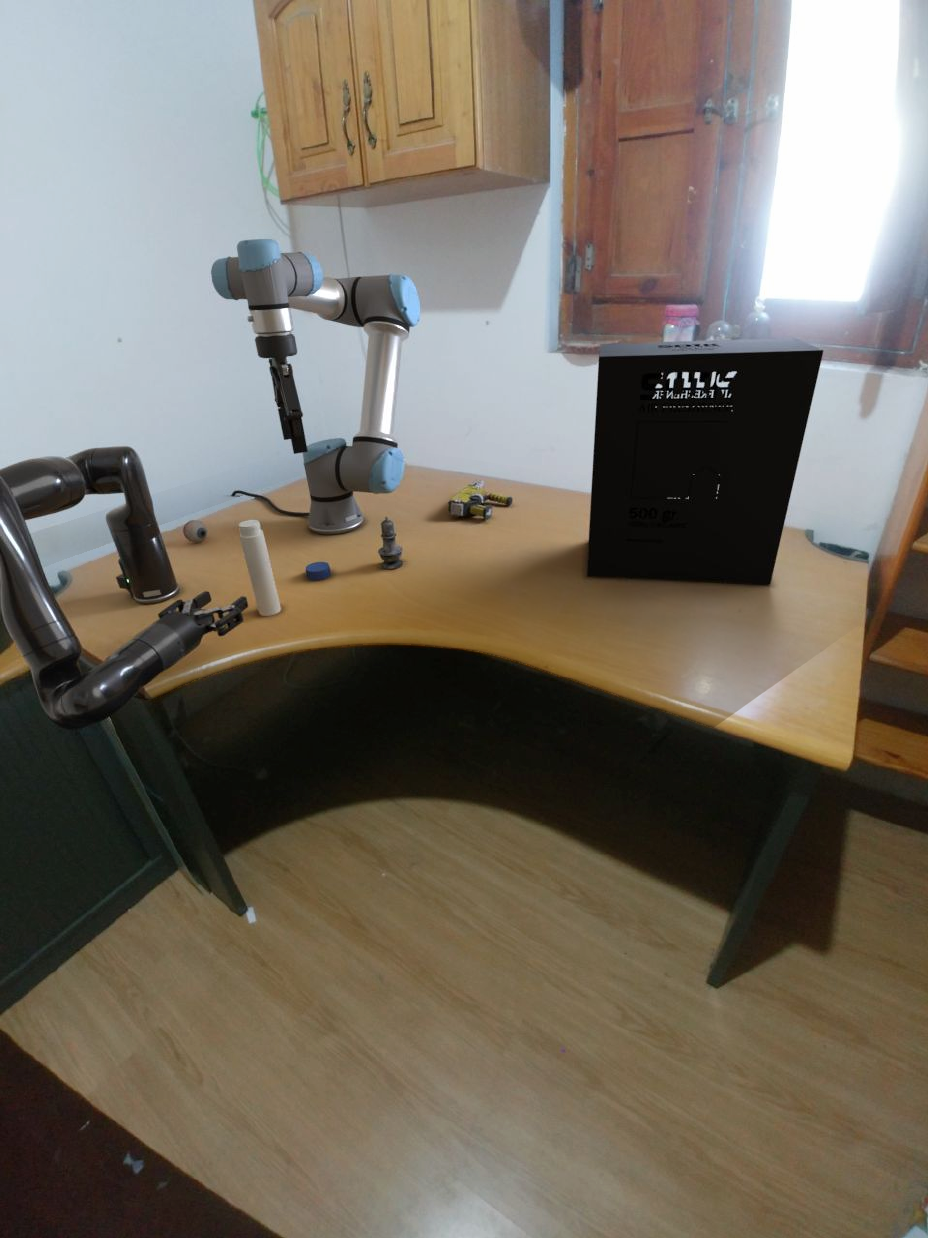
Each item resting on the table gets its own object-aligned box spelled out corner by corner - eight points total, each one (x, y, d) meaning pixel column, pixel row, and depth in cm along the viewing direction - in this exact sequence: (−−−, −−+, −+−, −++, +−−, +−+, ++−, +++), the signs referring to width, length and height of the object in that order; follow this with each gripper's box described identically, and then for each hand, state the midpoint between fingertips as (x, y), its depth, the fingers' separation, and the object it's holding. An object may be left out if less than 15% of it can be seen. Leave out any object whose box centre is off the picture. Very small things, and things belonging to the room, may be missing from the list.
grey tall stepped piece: (400, 569, 141) (394, 521, 135) (376, 568, 143) (369, 520, 137) (407, 559, 146) (402, 512, 140) (384, 558, 147) (378, 511, 141)
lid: (306, 572, 143) (304, 563, 142) (329, 568, 144) (328, 559, 143) (307, 582, 138) (306, 573, 137) (332, 578, 140) (330, 569, 139)
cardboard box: (751, 546, 143) (793, 337, 120) (770, 584, 126) (823, 350, 103) (589, 540, 150) (600, 343, 128) (586, 576, 133) (598, 356, 111)
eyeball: (196, 547, 160) (190, 526, 157) (181, 543, 163) (175, 522, 160) (215, 539, 164) (209, 518, 161) (200, 536, 167) (194, 515, 164)
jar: (285, 609, 128) (265, 521, 118) (267, 618, 125) (245, 529, 115) (272, 603, 130) (252, 517, 120) (254, 612, 127) (232, 524, 117)
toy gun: (520, 484, 182) (474, 477, 186) (498, 508, 162) (446, 499, 166) (519, 500, 184) (473, 492, 188) (497, 524, 164) (445, 516, 168)
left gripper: (192, 629, 97) (253, 584, 110) (125, 618, 102) (191, 576, 115) (205, 667, 101) (262, 619, 114) (139, 655, 106) (202, 610, 119)
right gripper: (247, 331, 125) (269, 435, 135) (261, 340, 105) (285, 461, 115) (284, 328, 127) (303, 431, 138) (304, 336, 107) (324, 455, 118)
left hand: (227, 598), depth 115 cm, fingers open, 8 cm apart
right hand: (295, 445), depth 126 cm, fingers open, 13 cm apart
